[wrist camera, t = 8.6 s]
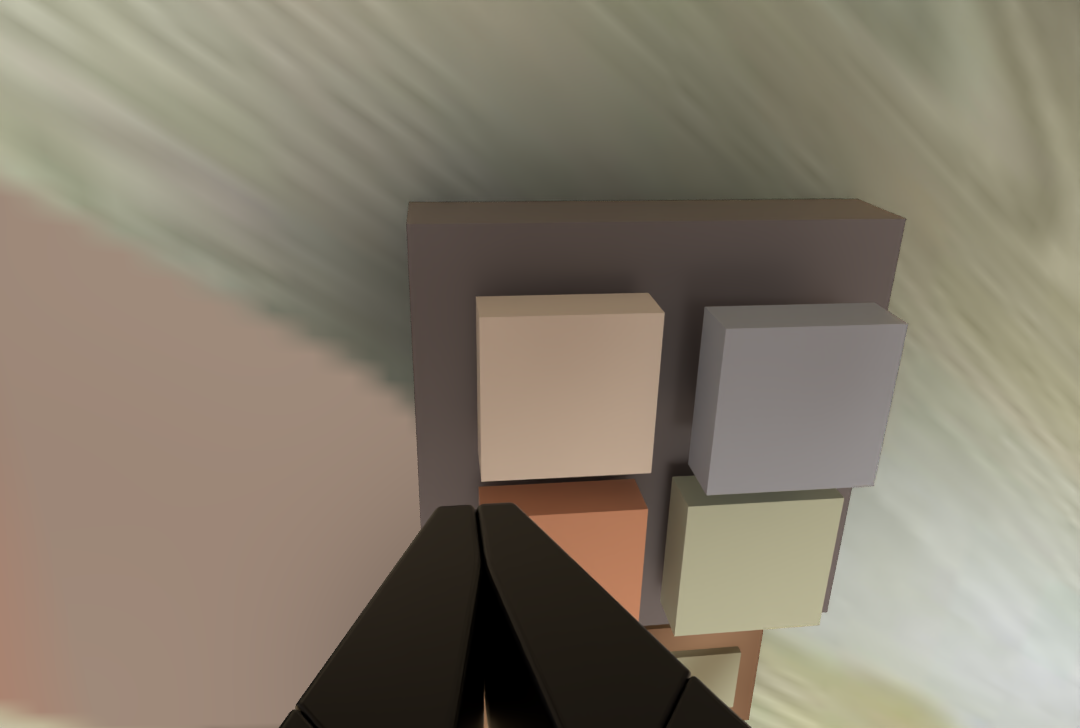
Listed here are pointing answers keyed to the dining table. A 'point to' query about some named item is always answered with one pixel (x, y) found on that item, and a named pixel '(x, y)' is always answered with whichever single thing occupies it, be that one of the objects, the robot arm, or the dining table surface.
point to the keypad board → (621, 267)
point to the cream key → (567, 384)
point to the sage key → (747, 558)
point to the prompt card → (715, 662)
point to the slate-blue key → (793, 396)
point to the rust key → (590, 528)
